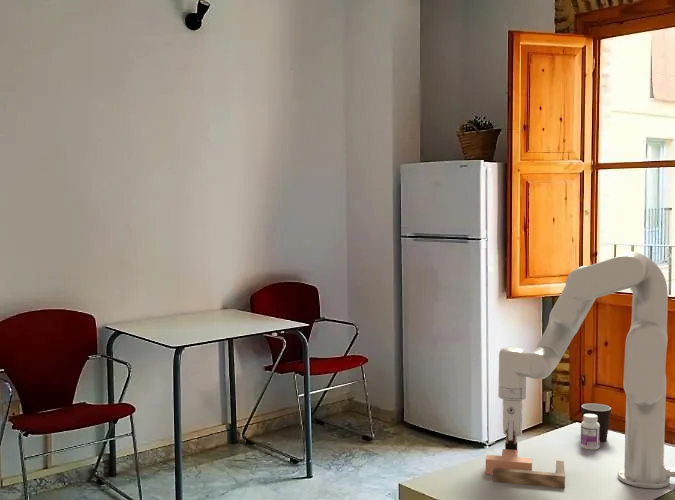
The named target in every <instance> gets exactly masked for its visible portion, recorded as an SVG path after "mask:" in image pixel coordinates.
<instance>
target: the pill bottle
mask: <svg viewBox="0 0 675 500" xmlns="http://www.w3.org/2000/svg"><path fill="white" fill-rule="evenodd" d="M583 419H584V421H583ZM597 420H598V416H597V415H595V414H584V416H582V422H581V424H580V447H581V448H582V449H586V450H590V451H591V450H593V451H594V450H598V449H600V446H601V445H600V444H601V442H600V424H599V423H598V422H597Z"/></svg>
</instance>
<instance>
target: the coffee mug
mask: <svg viewBox="0 0 675 500" xmlns="http://www.w3.org/2000/svg"><path fill="white" fill-rule="evenodd" d="M580 412H581V416H582V417H583V416H584V414H595V415H597V416H598V420H597V422H598V423H599V424H600V443H605V442H607V439H608V435H609V434H608V432H609V426H610V419H611V412H612V407H610V406H609V405H606V404H601V403H583V404H582V405H581V408H580ZM583 421H584V419H583V418H582V422H583Z"/></svg>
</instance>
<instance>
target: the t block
mask: <svg viewBox="0 0 675 500" xmlns="http://www.w3.org/2000/svg"><path fill="white" fill-rule="evenodd" d="M493 468H504V469H516V470H527V471H533V458H531V457H521V456H520V457H519V456H518V449H517V450H509V449H505V448H502V453H501V455H495V454H494V455H493V454H486V457H485V475H490V474H491V476H493Z"/></svg>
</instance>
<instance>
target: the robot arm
mask: <svg viewBox="0 0 675 500" xmlns="http://www.w3.org/2000/svg"><path fill="white" fill-rule="evenodd" d="M567 275H568V276H567V277H566V280H565V286H564V287H563V289H562V291H561V293H560V295H559V296H558V298H557V300H556V302H555V304H554V305H553V307H552V309H551V310H550V313H549V316H548V317H549V318H548V324H547V326H546V328H545V330H544V332H543V334H542V336H541V338H540V340H539V342H538V343H537V345H536V346H535V348H534V350H533V351H530V352H528V351H526V350H525V349H524V348H520V347H512V346H511V347H510V346H508V347H503V348H501V349H500V351H499V353H498V392H497V393H498V398H499V399H501V400H502V432H503V435H505V443H504V449H509V450H518V442H517V441H518V440H517V437H521V435H522V433H523V401H525V400H526V399H527V378H530V379H533V380H534V379H535V380H544V379H546V378H548V377H549V376H550V375H551V374H552V372H554V370H555V369H556V368H557V367H558V365H559V363H560V362H561V360H562V358H563V357H564V355H565V352H566V351H567V349H568V348H569V346H570V344H571V341H572V340H573V339H574V336H575V335H576V334H577V333H578V331H579V329H580V328H581V326H582V324H583V322H584V320H585V319H586V317H587V314H588V313H589V311H590V310H591V307H593V304H594V303H595V301H596V299H597V298H601V297H604V296H607V295H611V294H615V293H618V292H621V291H624V290H627V289H631V290H632V301H631V323H630V328H629V331H628V332H627V334H626V339H625V346H624V360H623V361H624V363H623V366H624V367H623V380H622V381H623V382H622V383H623V391H624V392H625V395H626V398H625V399H626V400H625V429H624V430H625V431H624V433H625V434H624V441H625V442H624V468H622V469H620V470H619V471H618V472H617V478H618V480H619V481H621V482H622V483H625V484H627V485H630V486H633V487H636V488H642V489H643V488H644V489H663V488H666V487H668V486H669V485H670V483H671V482H670V481H671V480H670V479H671V477H672V478H675V467H667V466H666V464H665V462H664V461H665V431H666V429H665V428H666V427H665V425H666V400H667V374H666V366H667V365H666V363H667V348H668V341H669V340H668V339H669V338H668V337H669V336H668V305H669V304H668V303H669V302H668V301H669V299H668V297H669V295H668V285H667V281H666V278H665V276H664V273H663V272H662V269H661V268H660V267H659V266H658V264H657V263H655V261H653V260H652V259H650V257H647V256H646V255H644V254H642V253H640V252H635V251H625V252H623V253H620V254H619V255H617V256H614V257H612V258H609V259H606V260H603V261H600V262H596V263H593V264H591V265H590V264H589V265H580V266H579V267H577V268H575V269H573V270H572V271H571V272H569V274H567Z"/></svg>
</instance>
